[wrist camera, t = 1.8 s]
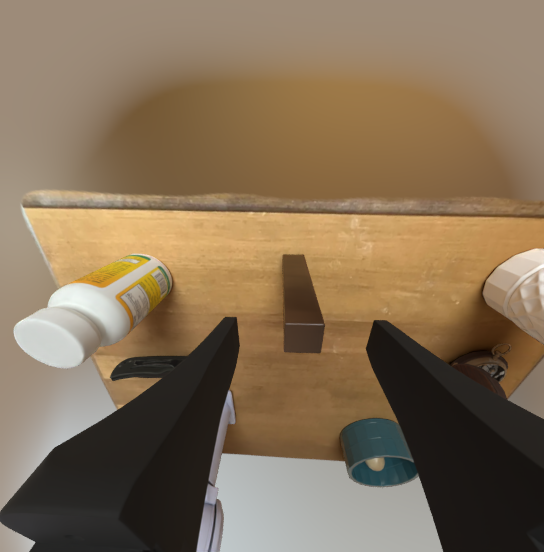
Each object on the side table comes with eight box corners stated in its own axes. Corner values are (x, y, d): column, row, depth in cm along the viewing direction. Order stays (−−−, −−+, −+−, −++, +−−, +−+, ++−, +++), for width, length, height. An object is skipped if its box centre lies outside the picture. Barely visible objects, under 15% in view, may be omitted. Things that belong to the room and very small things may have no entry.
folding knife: (126, 361, 26) (109, 382, 24) (122, 354, 26) (104, 375, 23) (196, 359, 26) (186, 380, 23) (193, 352, 25) (183, 373, 22)
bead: (359, 450, 33) (365, 474, 30) (362, 441, 32) (370, 465, 29) (377, 451, 33) (385, 475, 30) (381, 442, 32) (390, 466, 29)
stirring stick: (282, 273, 20) (283, 352, 11) (282, 254, 19) (284, 323, 10) (302, 273, 19) (321, 353, 10) (304, 254, 19) (325, 324, 10)
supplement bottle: (183, 276, 20) (110, 348, 12) (158, 306, 22) (78, 387, 13) (135, 240, 19) (11, 292, 10) (112, 275, 20) (-10, 345, 12)
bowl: (336, 449, 34) (343, 485, 30) (345, 416, 30) (355, 453, 26) (394, 452, 34) (409, 488, 30) (412, 419, 29) (432, 457, 25)
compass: (480, 386, 26) (548, 457, 19) (422, 377, 25) (471, 446, 19) (525, 341, 22) (628, 410, 16) (459, 330, 22) (535, 395, 15)
